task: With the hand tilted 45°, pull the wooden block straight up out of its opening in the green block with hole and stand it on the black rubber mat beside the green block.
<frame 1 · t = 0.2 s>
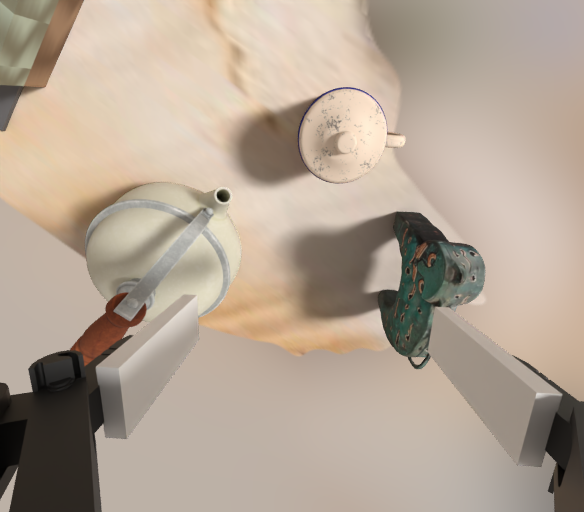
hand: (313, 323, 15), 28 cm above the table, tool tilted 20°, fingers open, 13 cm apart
kettle: (196, 224, 43), on the table
ceramic cat: (397, 258, 45), on the table
teacup with lid: (344, 131, 35), on the table
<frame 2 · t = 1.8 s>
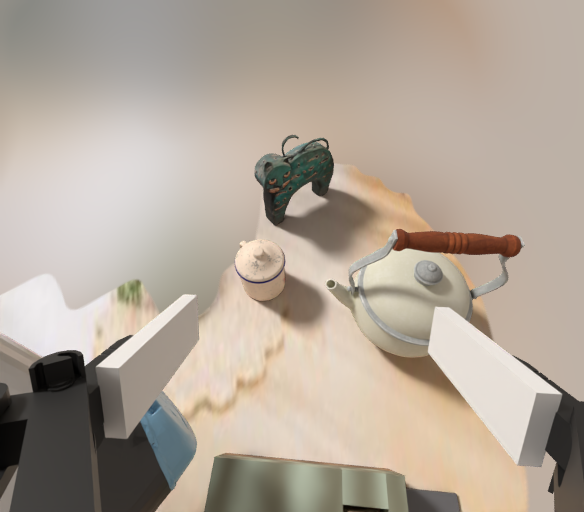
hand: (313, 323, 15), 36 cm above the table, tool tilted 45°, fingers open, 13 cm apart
kettle: (384, 313, 53), on the table
ceramic cat: (296, 205, 68), on the table
teacup with lid: (260, 277, 57), on the table
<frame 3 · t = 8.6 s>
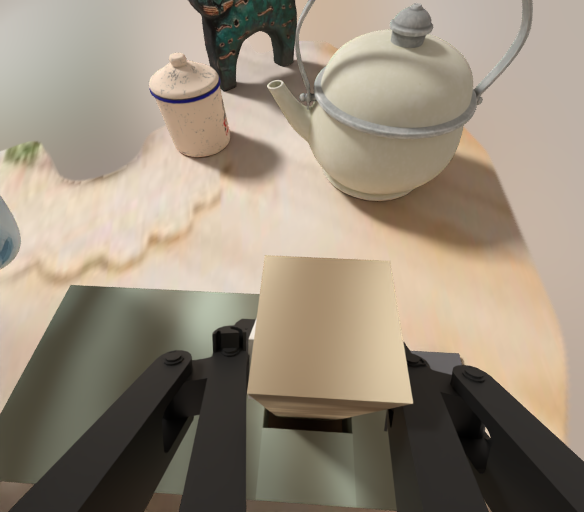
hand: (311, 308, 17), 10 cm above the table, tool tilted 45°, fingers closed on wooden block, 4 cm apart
kettle: (358, 167, 40), on the table
ceramic cat: (253, 75, 55), on the table
teacup with lid: (199, 137, 44), on the table
green block with hole: (224, 388, 24), on the table
rubber mat: (421, 400, 23), on the table
wooden block: (305, 389, 21), point 3 cm above the table, touching gripper, green block with hole
when the fingers open (10 cm above the table, at t = 14.5 s): wooden block drops 2 cm, resting on rubber mat.
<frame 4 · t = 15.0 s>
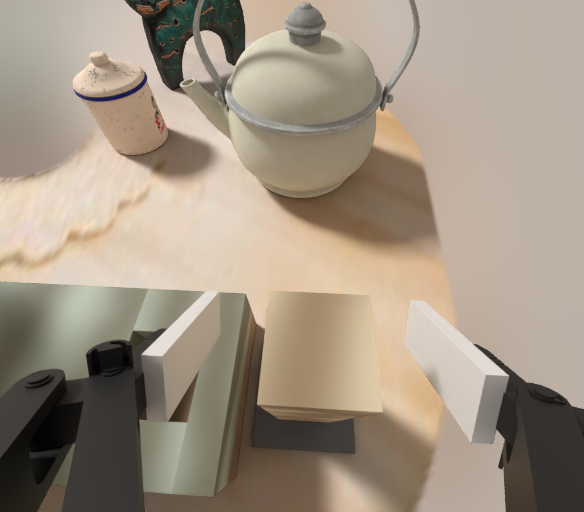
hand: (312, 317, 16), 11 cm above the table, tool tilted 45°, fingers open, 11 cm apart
kettle: (290, 165, 40), on the table
ceramic cat: (204, 74, 55), on the table
teacup with lid: (138, 135, 44), on the table
green block with hole: (113, 381, 24), on the table
rubber mat: (304, 393, 24), on the table
wooden block: (304, 393, 23), resting on rubber mat
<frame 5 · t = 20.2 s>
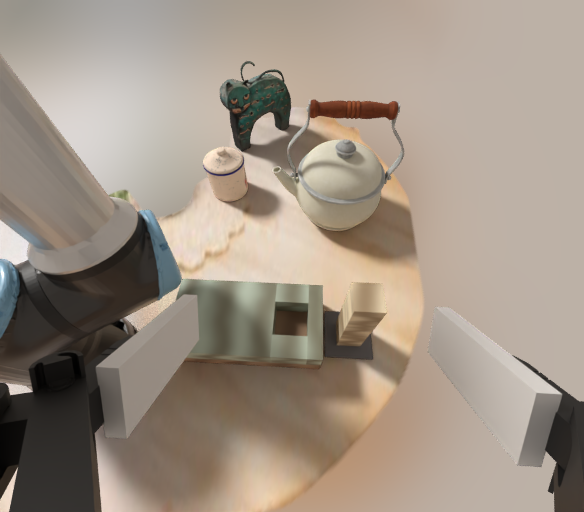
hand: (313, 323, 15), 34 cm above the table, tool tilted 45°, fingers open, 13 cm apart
kettle: (327, 208, 65), on the table
ceramic cat: (261, 137, 80), on the table
teacup with lid: (228, 187, 69), on the table
green block with hole: (252, 329, 49), on the table
rubber mat: (347, 334, 48), on the table
wooden block: (347, 334, 48), resting on rubber mat
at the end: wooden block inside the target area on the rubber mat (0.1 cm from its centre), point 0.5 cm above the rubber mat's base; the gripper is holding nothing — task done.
